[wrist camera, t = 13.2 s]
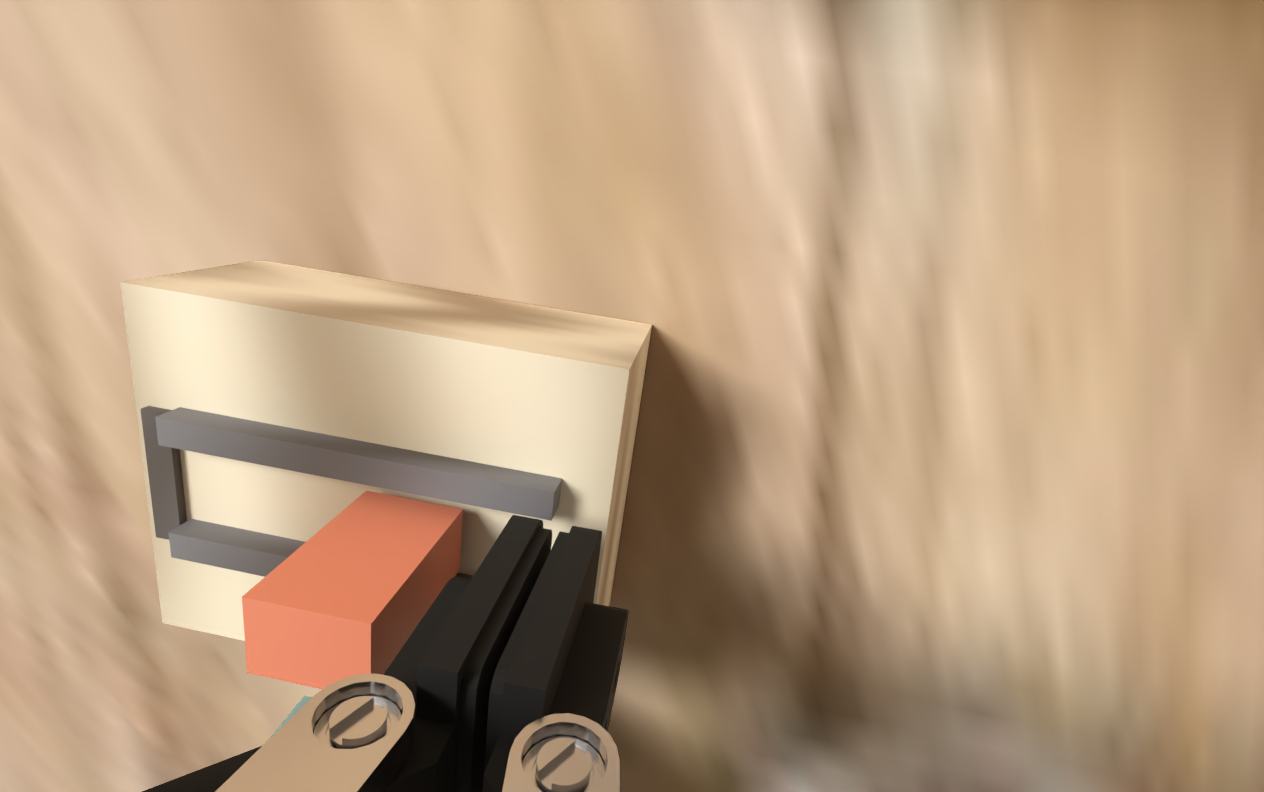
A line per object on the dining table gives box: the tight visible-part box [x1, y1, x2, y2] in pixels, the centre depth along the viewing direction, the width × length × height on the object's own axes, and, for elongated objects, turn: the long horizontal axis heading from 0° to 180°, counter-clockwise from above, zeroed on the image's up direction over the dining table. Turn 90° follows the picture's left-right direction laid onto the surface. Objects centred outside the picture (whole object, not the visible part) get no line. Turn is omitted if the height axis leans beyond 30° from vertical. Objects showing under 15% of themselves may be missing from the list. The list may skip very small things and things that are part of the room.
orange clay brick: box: [242, 490, 463, 689], centre depth 11 cm, size 2×1×4 cm
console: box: [120, 260, 652, 641], centre depth 15 cm, size 10×8×5 cm
